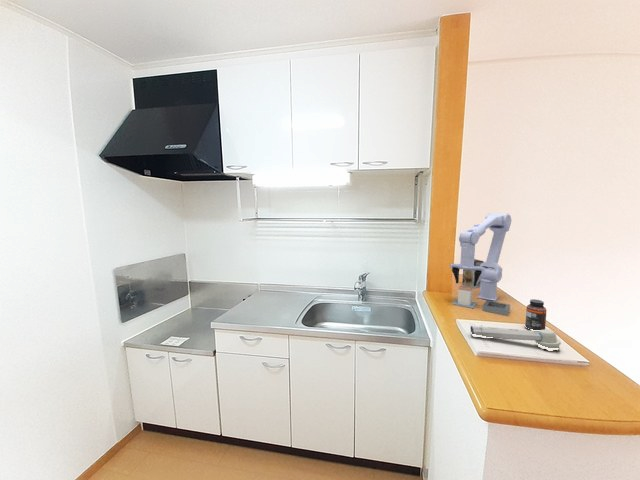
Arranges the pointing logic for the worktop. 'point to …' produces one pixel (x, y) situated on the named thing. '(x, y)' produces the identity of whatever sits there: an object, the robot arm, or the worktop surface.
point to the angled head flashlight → (519, 335)
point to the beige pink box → (465, 295)
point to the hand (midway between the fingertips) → (465, 284)
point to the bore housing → (496, 307)
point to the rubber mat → (465, 305)
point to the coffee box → (471, 276)
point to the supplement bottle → (535, 315)
